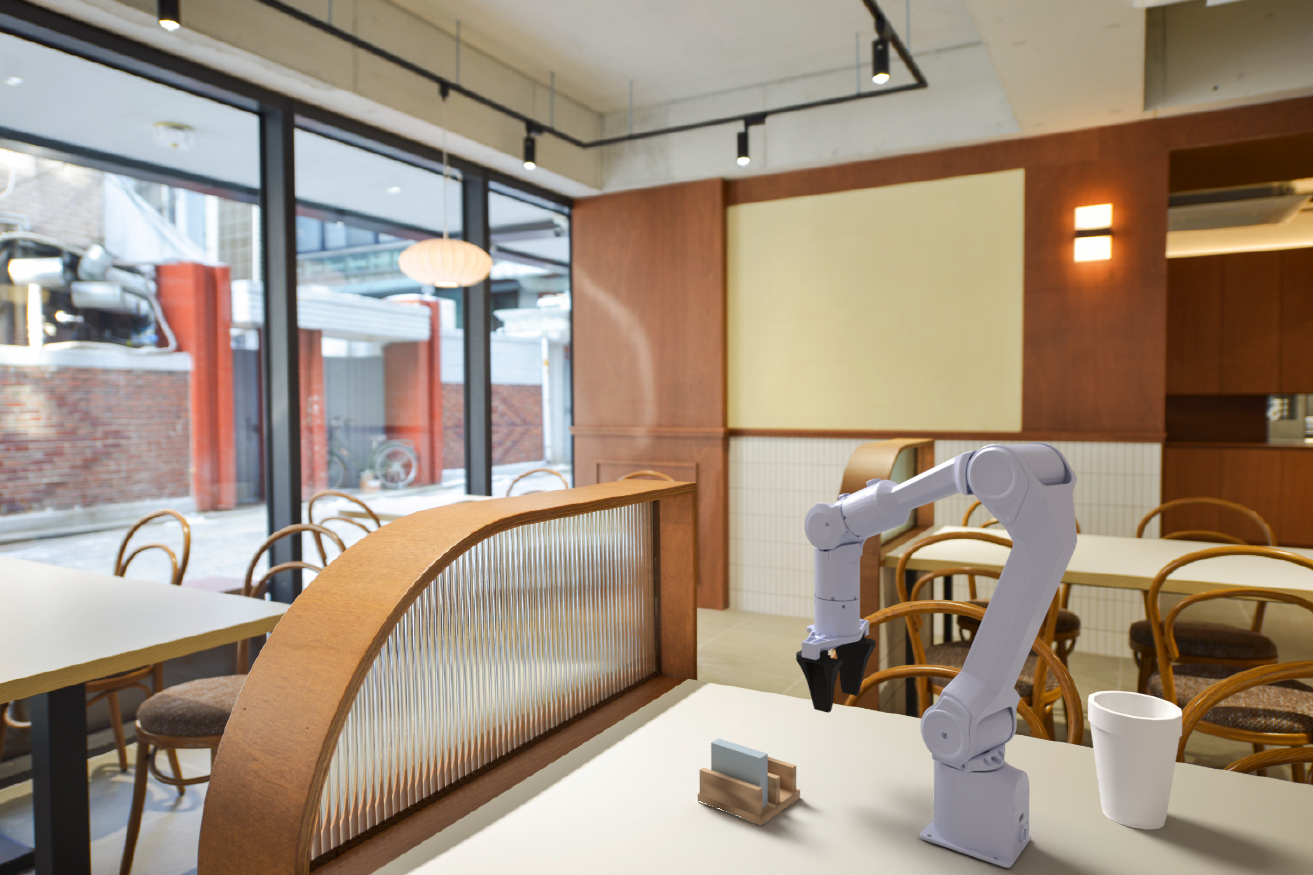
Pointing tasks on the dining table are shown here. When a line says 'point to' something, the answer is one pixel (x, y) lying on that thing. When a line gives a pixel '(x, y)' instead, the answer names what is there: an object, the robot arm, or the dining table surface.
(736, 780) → the rack
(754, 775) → the pale blue upright slab
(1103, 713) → the foam cup
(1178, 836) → the dining table surface
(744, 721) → the dining table surface
